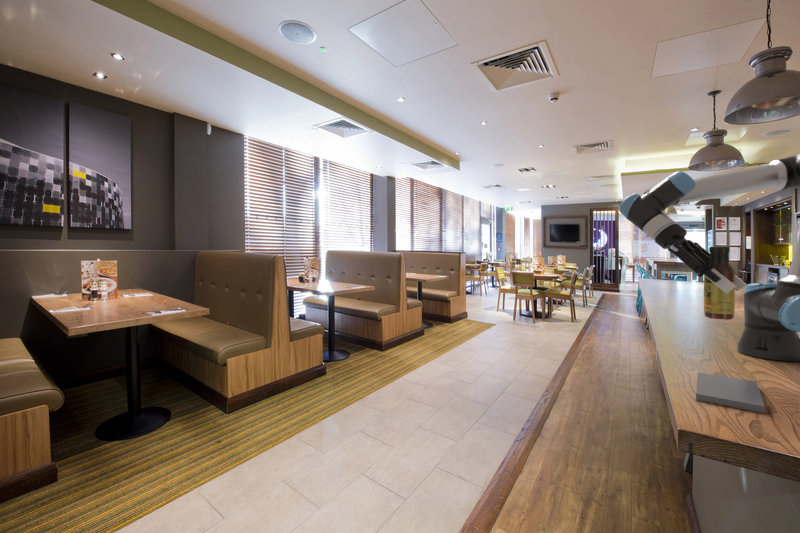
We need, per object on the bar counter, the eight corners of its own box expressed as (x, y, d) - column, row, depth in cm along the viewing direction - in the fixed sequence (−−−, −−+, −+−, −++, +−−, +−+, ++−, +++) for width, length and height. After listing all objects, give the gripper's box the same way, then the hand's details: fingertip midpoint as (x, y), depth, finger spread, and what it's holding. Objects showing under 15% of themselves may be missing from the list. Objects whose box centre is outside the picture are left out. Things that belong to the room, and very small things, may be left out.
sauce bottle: (703, 315, 99) (703, 246, 99) (733, 317, 95) (733, 245, 95) (704, 319, 94) (704, 246, 94) (736, 321, 90) (736, 245, 90)
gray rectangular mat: (697, 377, 93) (697, 372, 93) (756, 387, 86) (756, 381, 86) (696, 400, 80) (696, 393, 80) (764, 413, 73) (764, 406, 72)
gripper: (670, 240, 112) (738, 295, 98) (638, 241, 103) (707, 301, 89) (690, 222, 107) (764, 277, 93) (658, 222, 98) (734, 281, 84)
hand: (736, 288), depth 91 cm, fingers closed on sauce bottle, 6 cm apart
